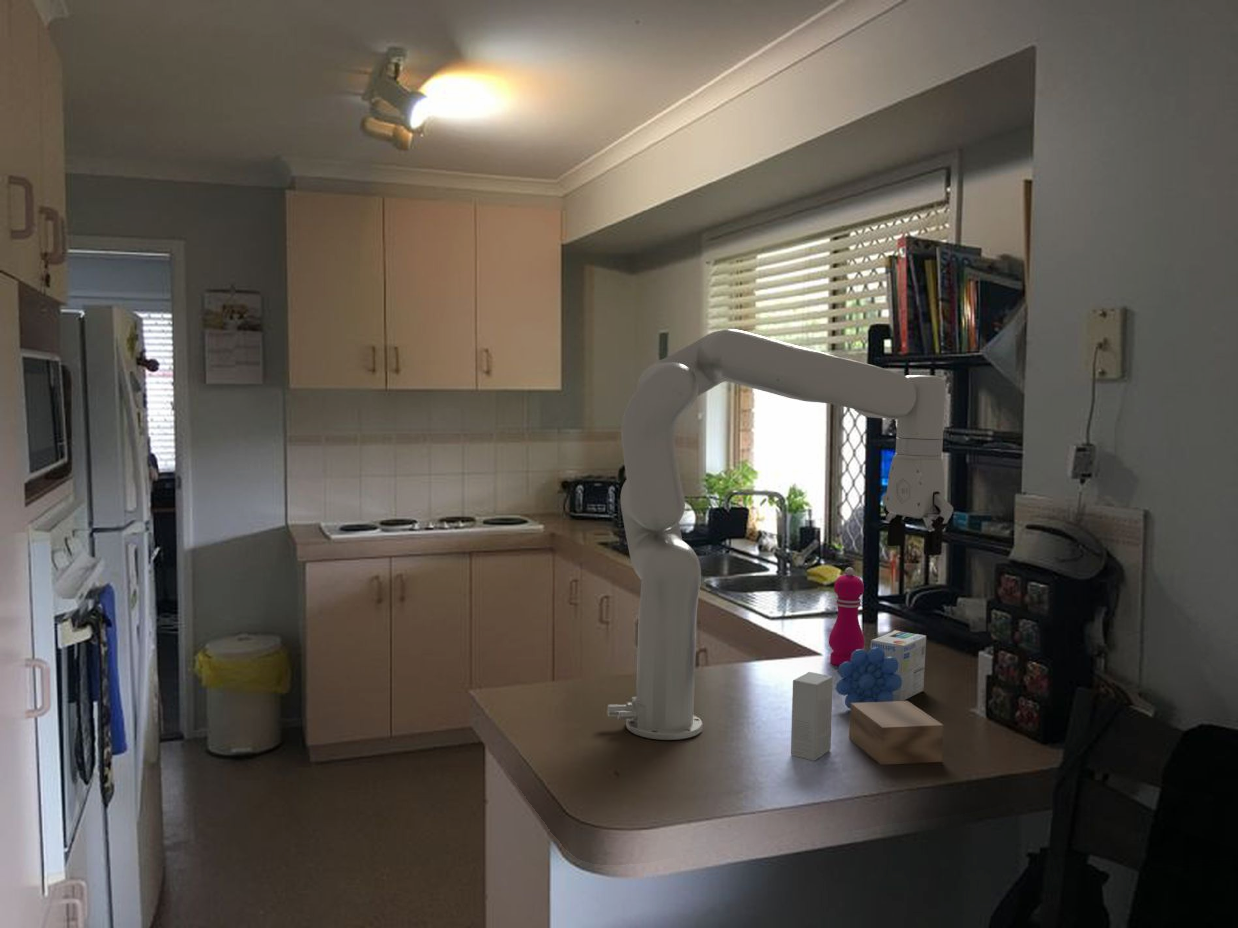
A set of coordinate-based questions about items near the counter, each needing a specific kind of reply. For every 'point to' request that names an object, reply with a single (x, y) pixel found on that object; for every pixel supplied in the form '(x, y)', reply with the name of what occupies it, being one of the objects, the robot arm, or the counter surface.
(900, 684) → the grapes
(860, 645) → the pepper mill
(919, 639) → the light bulb box
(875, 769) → the counter surface
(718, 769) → the counter surface
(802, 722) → the skincare box
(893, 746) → the wooden block
